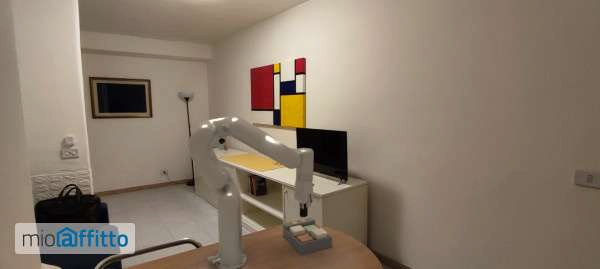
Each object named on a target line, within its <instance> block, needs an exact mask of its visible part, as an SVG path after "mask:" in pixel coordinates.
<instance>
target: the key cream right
mask: <svg viewBox="0 0 600 269" xmlns="http://www.w3.org/2000/svg"><path fill="white" fill-rule="evenodd" d="M327 233H328V232H327V231H326V230H325V229H323V228H322V227H320V228H319V229H315V230H311V235H312V236H313V237H315V238H316V239H321V238H325V237H327Z"/></svg>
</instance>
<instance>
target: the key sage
mask: <svg viewBox="0 0 600 269" xmlns="http://www.w3.org/2000/svg"><path fill="white" fill-rule="evenodd" d="M304 229H305V232H306V233H307V234H308V235H311V230H315V229H319V228H317V227H316V226H315V225H309V226H305V227H304Z"/></svg>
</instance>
